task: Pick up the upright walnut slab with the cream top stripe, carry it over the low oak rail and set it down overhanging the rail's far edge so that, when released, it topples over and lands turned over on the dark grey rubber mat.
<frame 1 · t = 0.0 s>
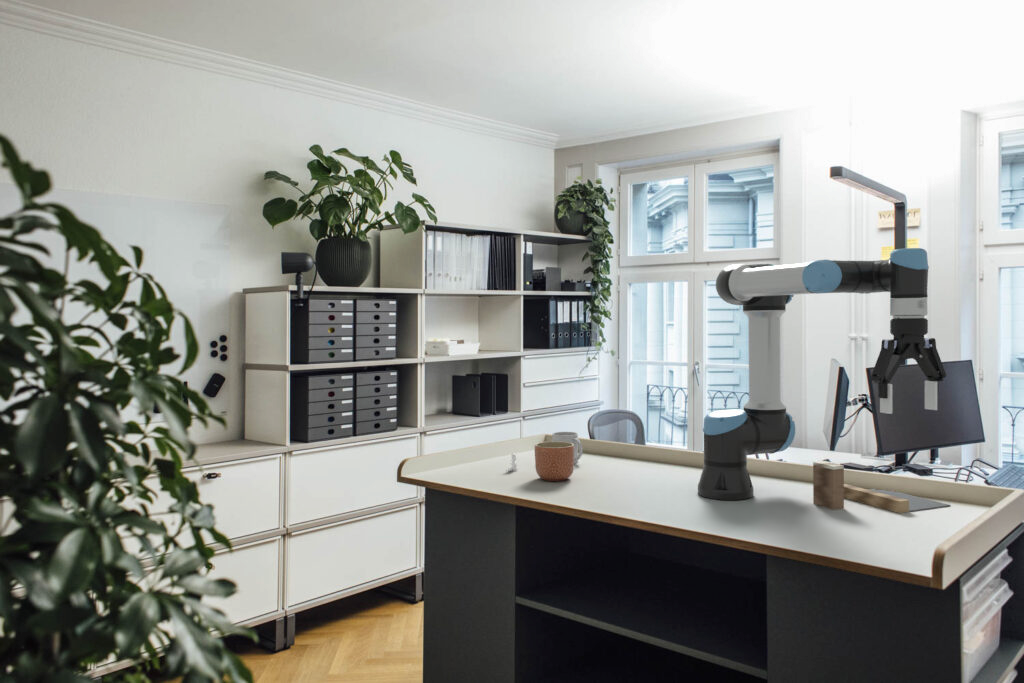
hand: (908, 411, 171), 28 cm above the table, fingers open, 13 cm apart
mug: (566, 463, 264), on the table
figurine: (513, 472, 251), on the table
planter: (554, 479, 237), on the table
slab: (828, 506, 199), on the table
rail: (869, 502, 201), on the table
mat: (894, 499, 204), on the table
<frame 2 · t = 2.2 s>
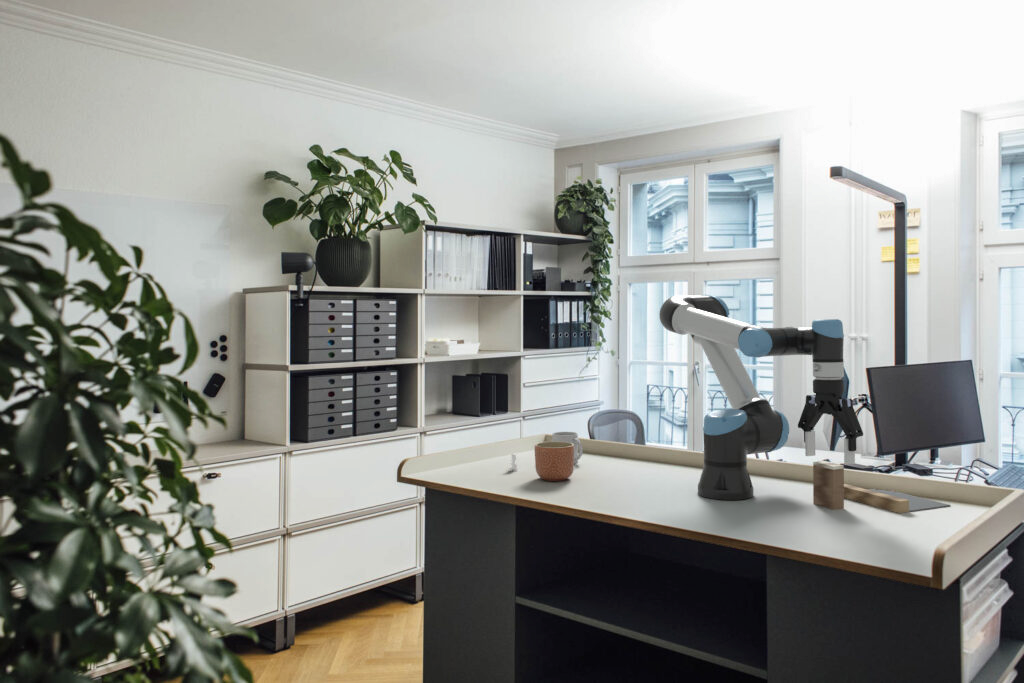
hand: (829, 459, 198), 12 cm above the table, fingers open, 13 cm apart
nothing on the table moved.
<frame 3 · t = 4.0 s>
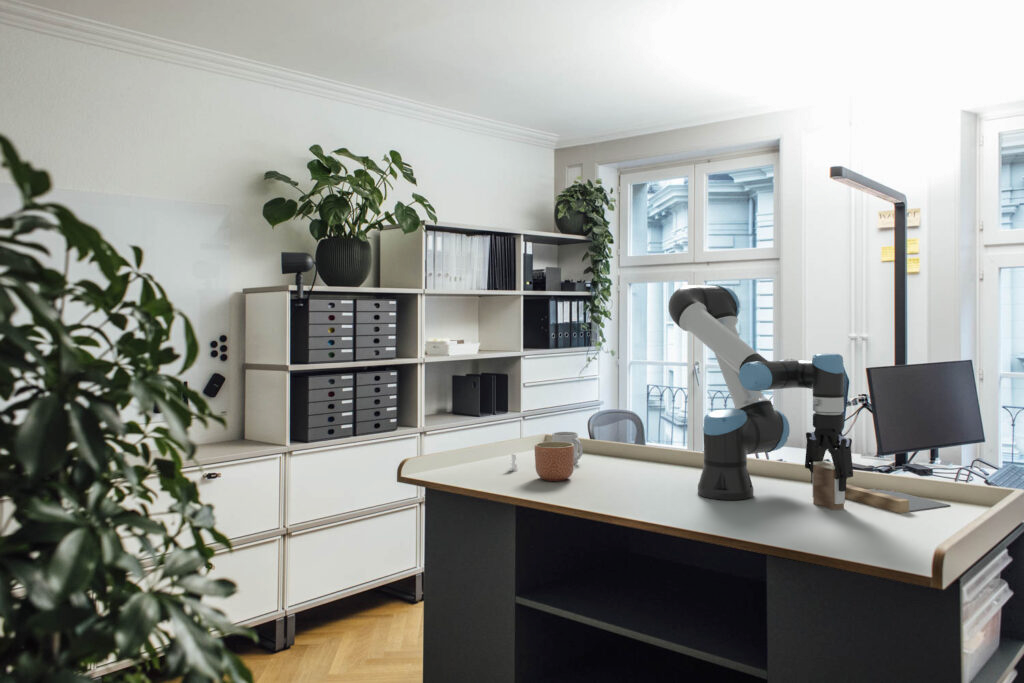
hand: (828, 499, 199), 2 cm above the table, fingers closed on slab, 7 cm apart
slab: (828, 506, 199), on the table, touching gripper
everything else where it was.
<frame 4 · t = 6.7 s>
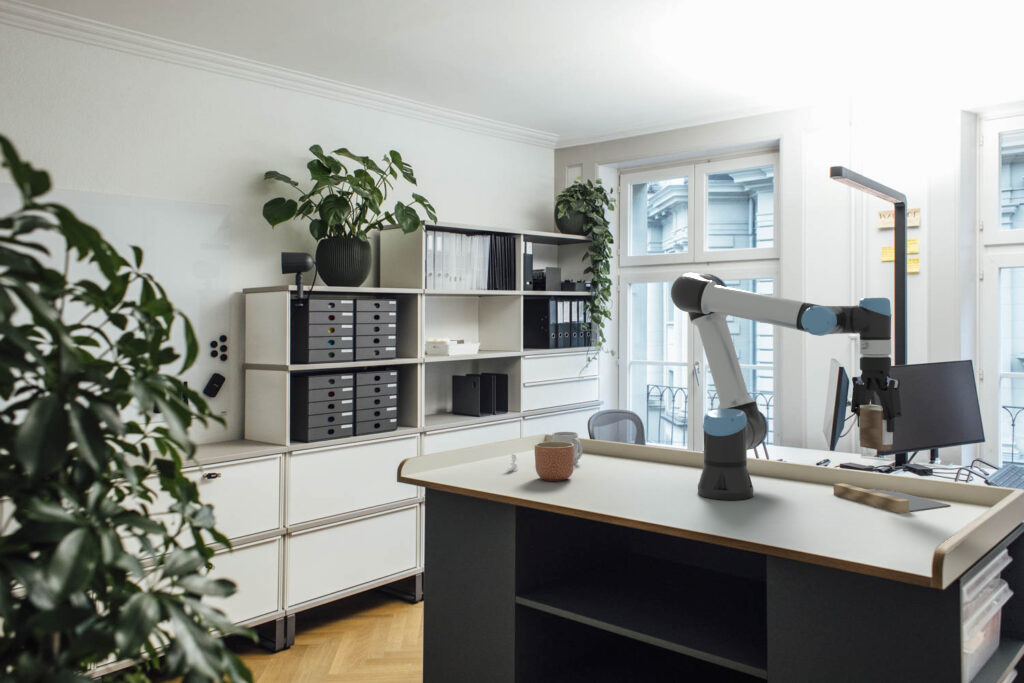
hand: (875, 442, 201), 16 cm above the table, fingers closed on slab, 7 cm apart
slab: (875, 448, 201), point 14 cm above the table, touching gripper
everything else where it was.
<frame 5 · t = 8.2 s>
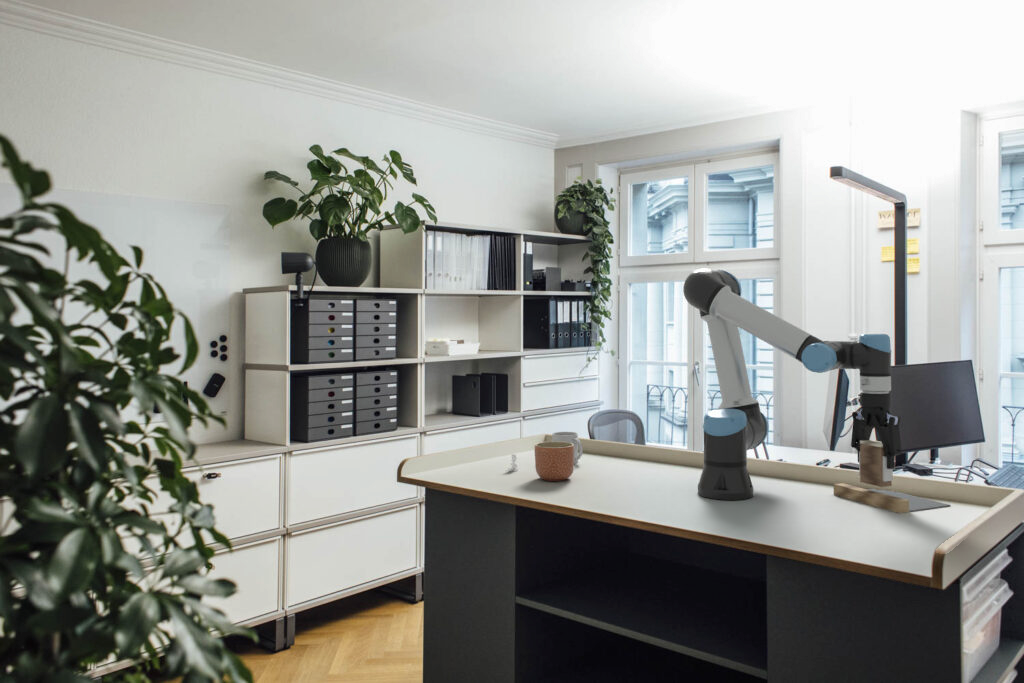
hand: (875, 477, 202), 7 cm above the table, fingers closed on slab, 7 cm apart
slab: (875, 483, 202), point 5 cm above the table, touching gripper
everything else where it was.
when the fingers open (6 cm above the table, at t = 9.2 s): slab drops 2 cm and tips over, resting on mat.
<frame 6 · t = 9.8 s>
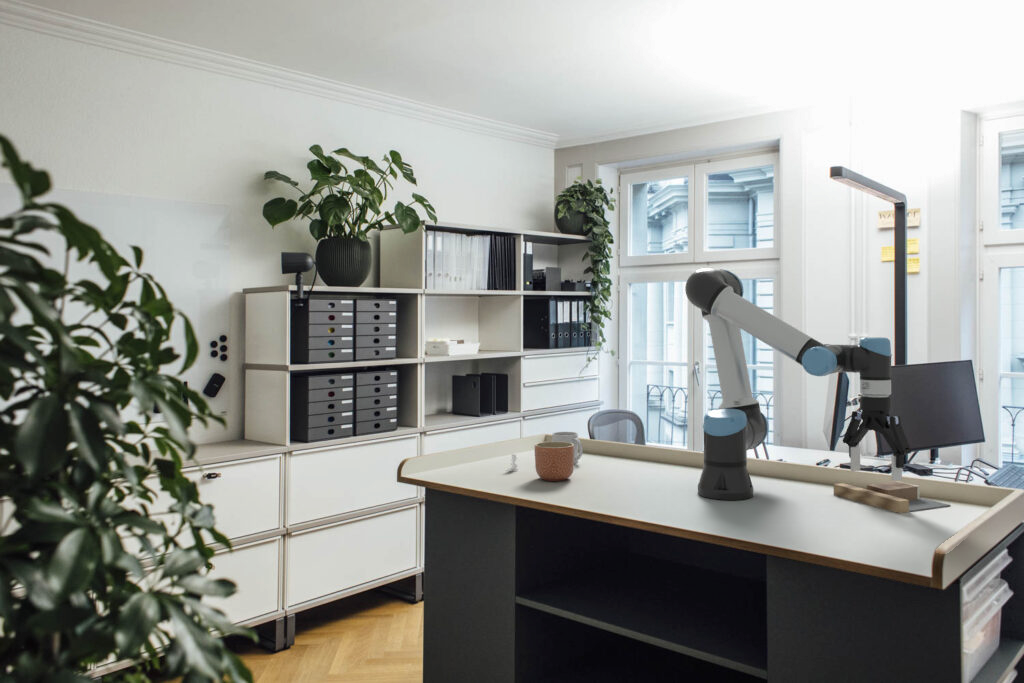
hand: (875, 475, 202), 7 cm above the table, fingers open, 13 cm apart
slab: (877, 494, 202), point 2 cm above the table, tilted 90°, touching mat
everything else where it was.
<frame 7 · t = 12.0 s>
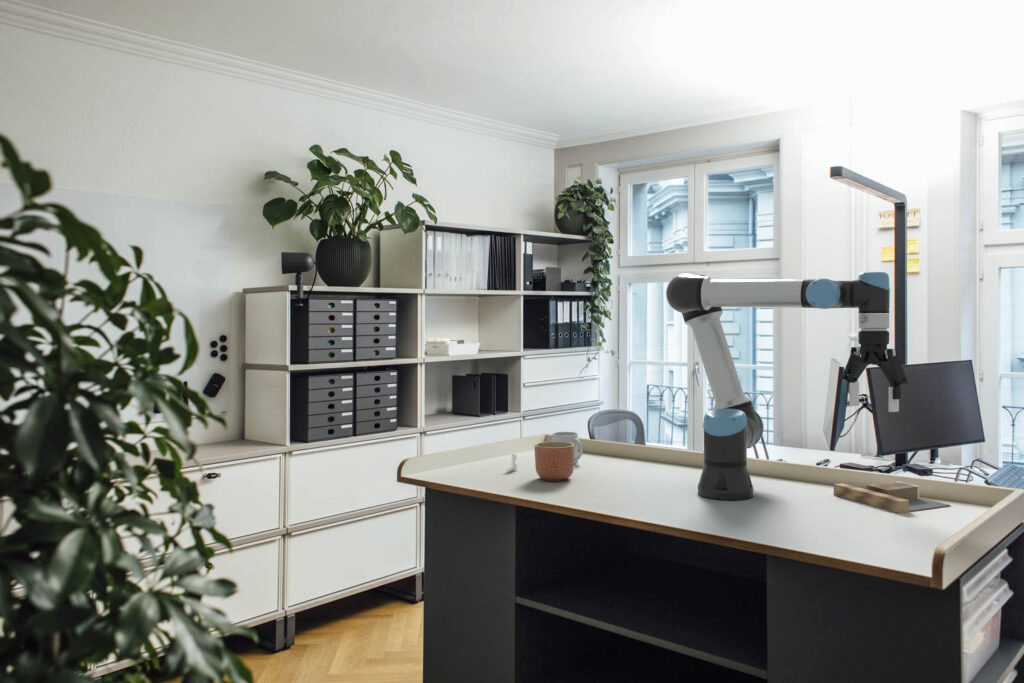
hand: (873, 408, 204), 25 cm above the table, fingers open, 13 cm apart
nothing on the table moved.
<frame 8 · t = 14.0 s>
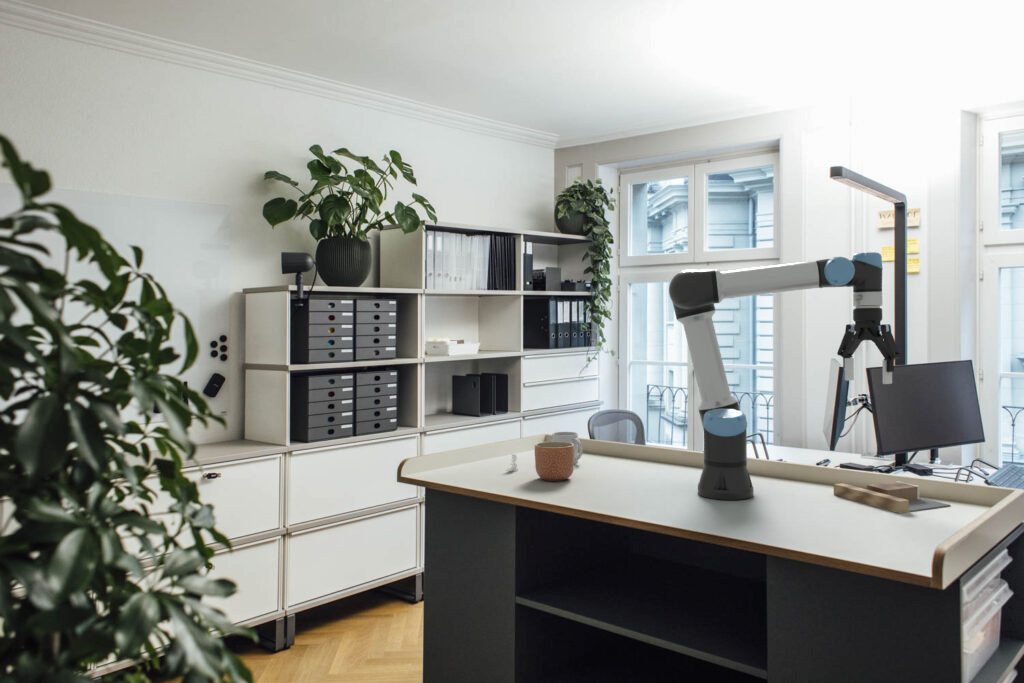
hand: (867, 382, 216), 31 cm above the table, fingers open, 13 cm apart
nothing on the table moved.
at the end: slab tilted 90°; slab inside the target area (9.6 cm from its centre), point 2.0 cm above the table; the gripper is holding nothing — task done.
